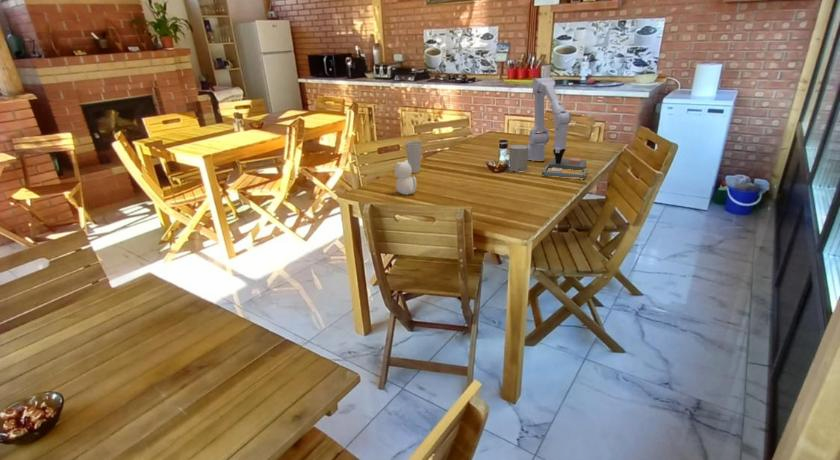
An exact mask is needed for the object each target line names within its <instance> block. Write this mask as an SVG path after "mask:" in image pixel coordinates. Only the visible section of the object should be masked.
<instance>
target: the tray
mask: <svg viewBox="0 0 840 460" xmlns="http://www.w3.org/2000/svg"><path fill="white" fill-rule="evenodd" d="M548 168H549V164H547V165H546V166H544V168H543V170H542V171H541V176H542V175H544V176H559V177H579V178H584V177H585V178H586V176H585V175H587V174H586V172H588V168H587V167H585V168H584V171H583V175H581V174H569V173H558V172H547V170H548Z"/></svg>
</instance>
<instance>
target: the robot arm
mask: <svg viewBox="0 0 840 460" xmlns="http://www.w3.org/2000/svg"><path fill="white" fill-rule="evenodd" d="M555 87H556V81H555V78H554V77H553V76H552V77H551V76H550V77H541V78H538V77H537V78H535V79H534V80H533V82H532V95H534V127H533V128H531V129H530V130H529V135H528V141H529V143H528V144H527V146H528V159H527V160H544V158H545V155H546V154H545V152H546V151H545V150H546V146H547V143H548V142H549V141H550V133H549V129H548V128H547V127H546V126H545V97H546V96H547V98H548V99H549V101H550V103H551V104H550V109H551V112H552V113H553V116H554V117H553V122H554V128H555V131H554V143H553V148H554V149H553V150H552V152H553V154H554V155H553V156H554V158H555V161H556V164H560V163H561V160H562V158H563V156H564V153H565V152H566V149H568V148H569V146H568V145H567V137H568V126H569V124H570V123H571V120H572V116H571V113H570V112H568V111H567V110H566V109H565V107H564V104H563V102H562V101H561V100H559V99H558V96H557V93H556V90H555V89H556V88H555ZM529 157H530V158H529Z"/></svg>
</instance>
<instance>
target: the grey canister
mask: <svg viewBox="0 0 840 460" xmlns="http://www.w3.org/2000/svg"><path fill="white" fill-rule="evenodd" d="M527 159H528V145H525V144H511V145H510V146H509V155H508V162H509V161H510V170H512V171H515V172H514V173H520V172H519V171H525V170H527V171H528V161H527ZM525 172H526V171H525Z"/></svg>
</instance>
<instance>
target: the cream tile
mask: <svg viewBox="0 0 840 460" xmlns="http://www.w3.org/2000/svg"><path fill="white" fill-rule="evenodd" d="M562 169H563V168H552V169H551V172H558V173H562Z"/></svg>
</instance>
